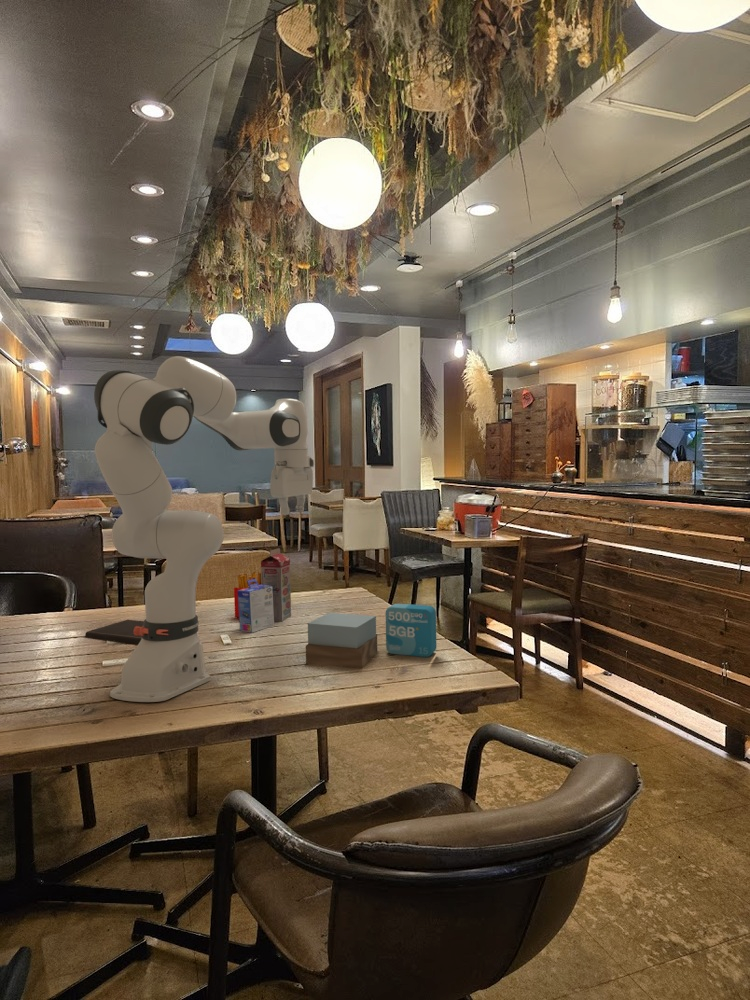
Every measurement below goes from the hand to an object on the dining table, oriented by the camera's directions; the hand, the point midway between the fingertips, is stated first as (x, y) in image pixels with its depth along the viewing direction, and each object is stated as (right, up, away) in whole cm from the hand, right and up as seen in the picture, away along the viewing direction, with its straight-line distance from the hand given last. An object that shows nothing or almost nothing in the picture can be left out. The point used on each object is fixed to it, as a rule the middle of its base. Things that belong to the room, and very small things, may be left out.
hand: (292, 513), depth 172 cm
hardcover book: (-47, -36, +15) cm, 61 cm away
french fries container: (-17, -34, +33) cm, 50 cm away
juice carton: (-9, -34, +30) cm, 46 cm away
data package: (+31, -35, -9) cm, 48 cm away
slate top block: (+14, -31, -11) cm, 36 cm away
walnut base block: (+14, -36, -11) cm, 40 cm away
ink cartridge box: (-13, -35, +19) cm, 42 cm away
